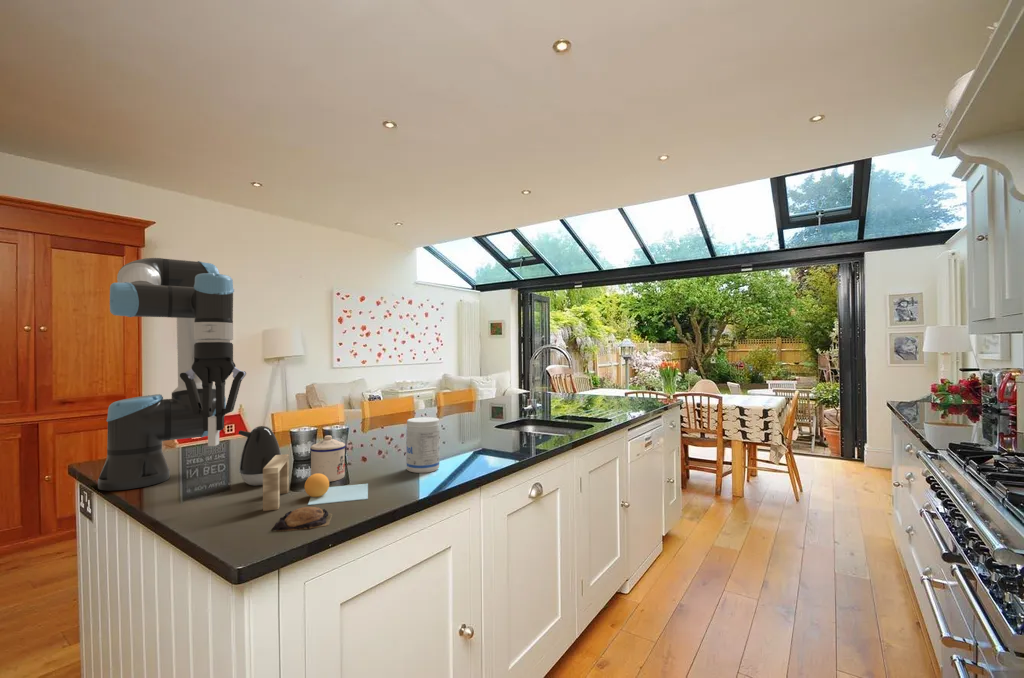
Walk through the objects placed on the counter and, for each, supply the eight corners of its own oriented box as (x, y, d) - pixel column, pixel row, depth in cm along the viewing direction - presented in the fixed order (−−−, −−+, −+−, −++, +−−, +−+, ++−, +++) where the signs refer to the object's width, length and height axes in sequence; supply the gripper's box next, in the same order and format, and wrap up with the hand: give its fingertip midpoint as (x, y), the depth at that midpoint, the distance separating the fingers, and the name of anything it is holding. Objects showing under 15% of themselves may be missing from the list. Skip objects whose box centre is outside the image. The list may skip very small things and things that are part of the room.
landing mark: (314, 489, 117) (314, 488, 117) (367, 484, 121) (367, 483, 121) (307, 505, 105) (307, 504, 105) (367, 499, 109) (367, 498, 109)
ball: (321, 466, 114) (335, 483, 115) (302, 481, 113) (316, 498, 114) (317, 471, 109) (332, 489, 109) (297, 487, 108) (312, 505, 108)
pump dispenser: (241, 480, 127) (241, 424, 127) (283, 476, 131) (283, 422, 131) (235, 490, 117) (235, 430, 118) (281, 485, 121) (281, 427, 122)
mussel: (333, 516, 100) (333, 498, 100) (328, 530, 91) (328, 511, 92) (280, 520, 97) (280, 503, 97) (269, 536, 89) (269, 516, 89)
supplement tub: (401, 469, 137) (400, 419, 137) (430, 463, 142) (429, 416, 143) (415, 475, 129) (415, 422, 129) (445, 470, 135) (445, 419, 135)
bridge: (262, 511, 101) (262, 468, 102) (275, 492, 115) (275, 455, 116) (277, 509, 102) (277, 467, 103) (288, 490, 116) (288, 454, 116)
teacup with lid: (344, 481, 125) (344, 437, 125) (308, 484, 122) (308, 440, 122) (346, 470, 136) (346, 430, 136) (313, 473, 133) (313, 432, 134)
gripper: (174, 341, 101) (173, 450, 100) (241, 341, 104) (241, 446, 104) (187, 342, 108) (186, 444, 107) (249, 341, 112) (249, 440, 111)
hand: (213, 444), depth 105 cm, fingers closed
